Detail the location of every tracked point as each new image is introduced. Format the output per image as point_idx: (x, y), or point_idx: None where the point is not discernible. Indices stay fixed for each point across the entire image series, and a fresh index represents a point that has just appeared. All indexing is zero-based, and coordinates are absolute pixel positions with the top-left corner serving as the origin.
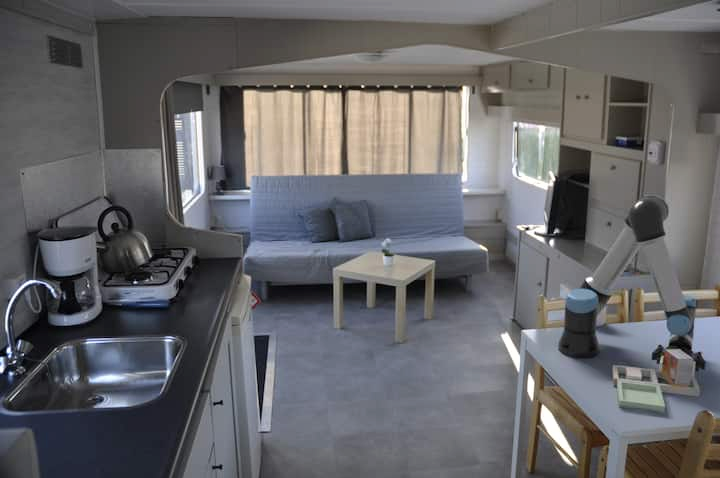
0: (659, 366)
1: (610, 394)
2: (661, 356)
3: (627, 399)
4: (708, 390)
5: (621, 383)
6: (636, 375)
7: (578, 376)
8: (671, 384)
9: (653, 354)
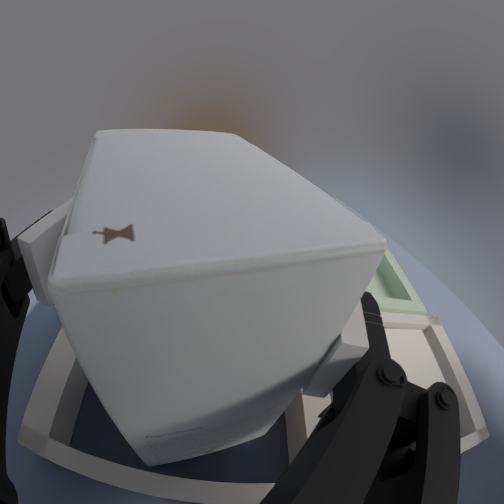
0: None
1: None
2: (361, 324)
3: None
4: (24, 344)
5: (407, 292)
6: (395, 337)
7: (493, 361)
8: None
9: (436, 387)
